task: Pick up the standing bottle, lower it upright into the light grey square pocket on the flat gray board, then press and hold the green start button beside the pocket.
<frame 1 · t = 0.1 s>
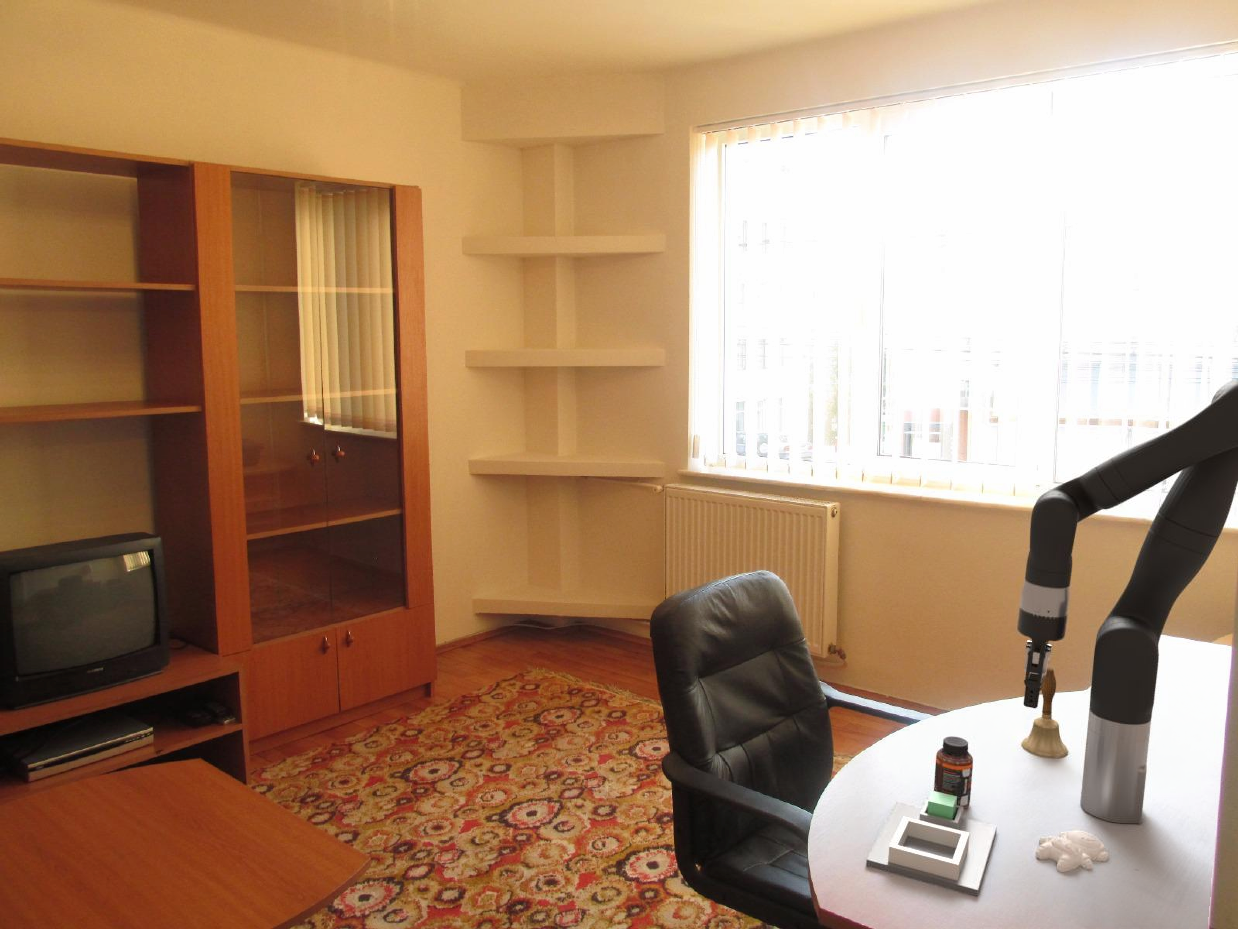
hand: (1032, 698, 169), 17 cm above the table, tool pointing down, fingers open, 8 cm apart
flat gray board: (933, 848, 153), on the table
start button: (942, 808, 158), point 4 cm above the table, slide at 0.0 cm
astronaut figurine: (1069, 856, 152), on the table
hand bell: (1044, 749, 189), on the table
supplement bottle: (951, 804, 167), on the table
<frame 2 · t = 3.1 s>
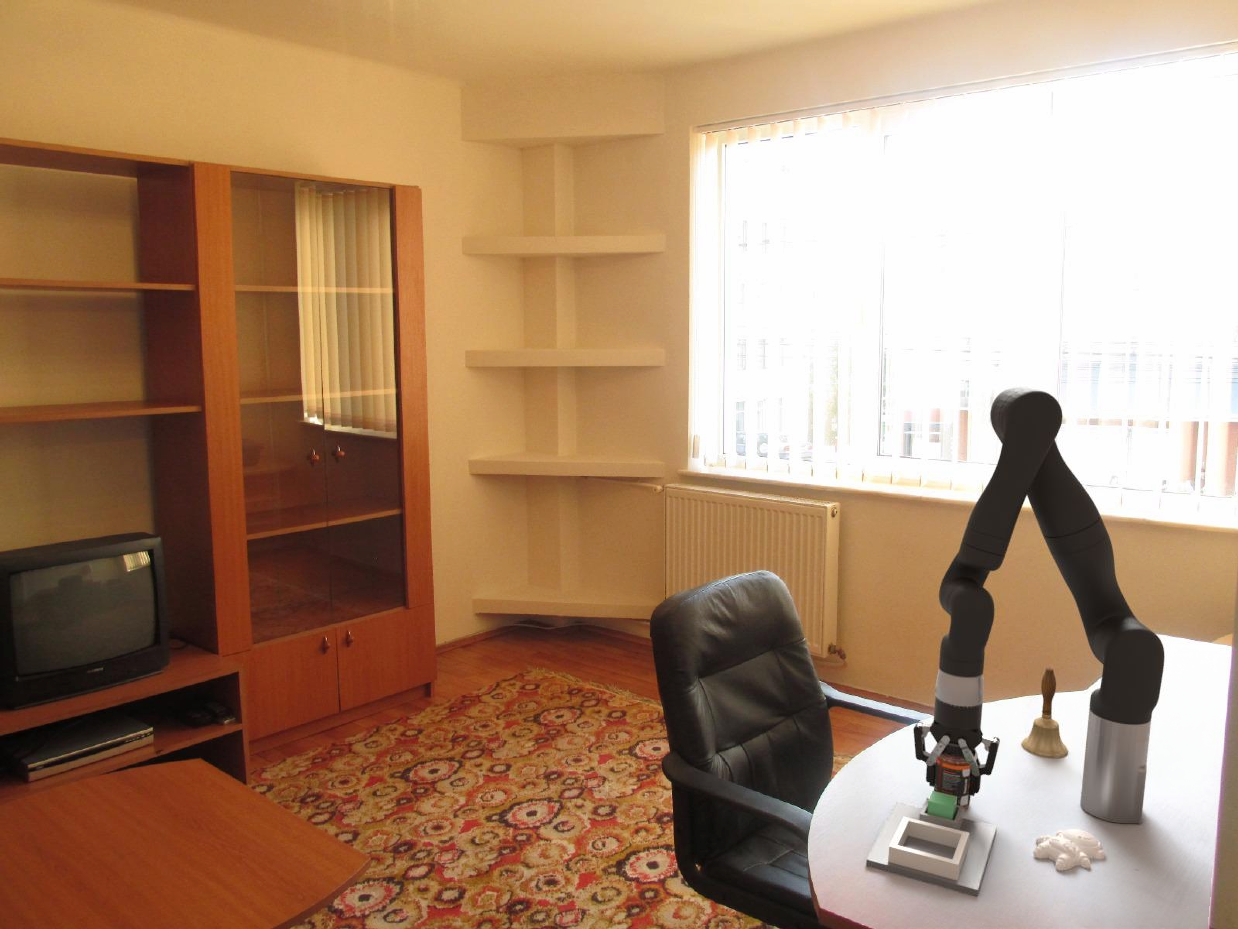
hand: (952, 789, 167), 3 cm above the table, tool pointing down, fingers closed on supplement bottle, 6 cm apart
supplement bottle: (951, 804, 167), on the table, touching gripper
everything else where it was.
when the fingers open (5 cm above the table, at t = 9.1 s): supplement bottle drops 1 cm, resting on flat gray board.
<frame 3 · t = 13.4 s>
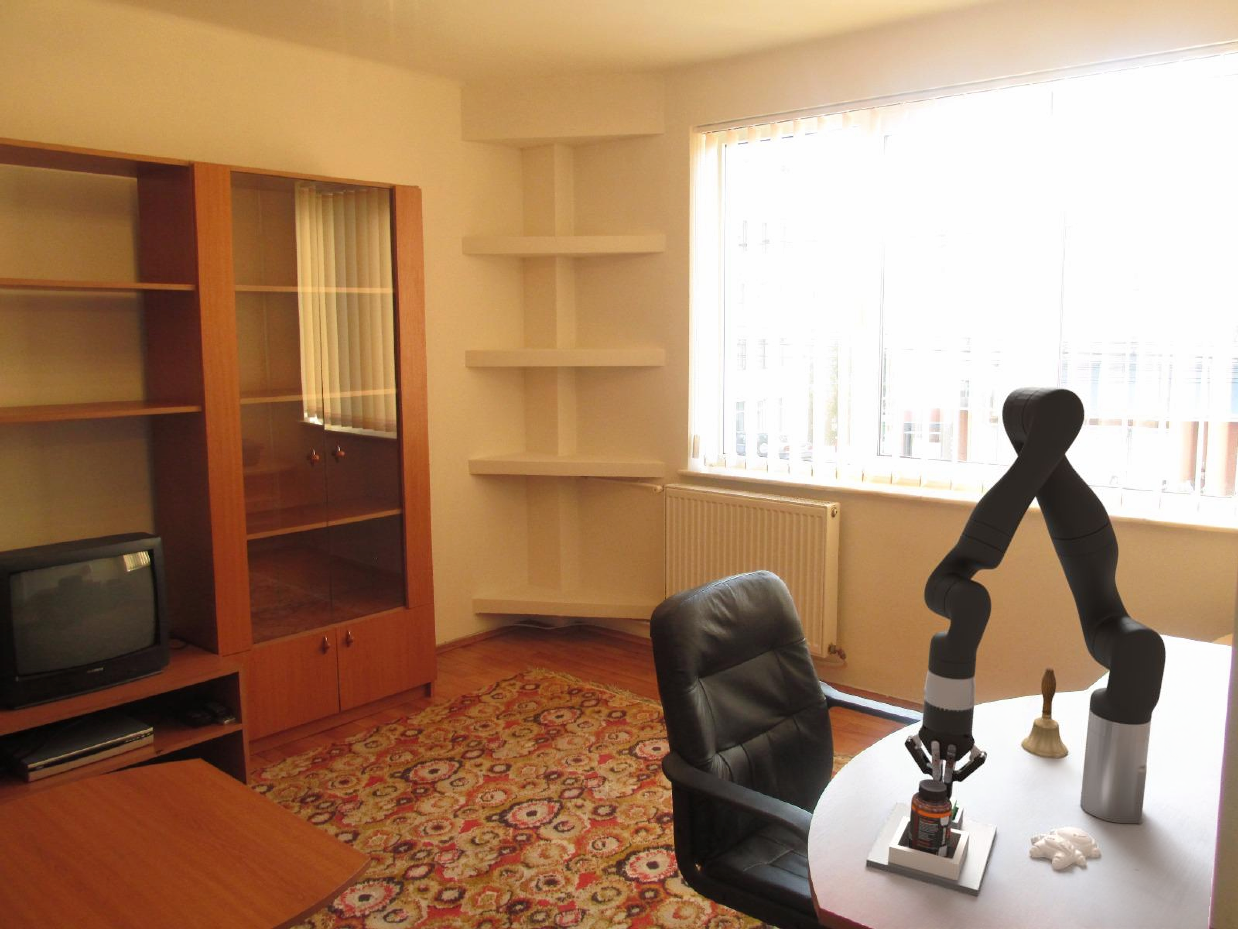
hand: (941, 800, 158), 5 cm above the table, tool pointing down, fingers closed
start button: (941, 810, 158), point 4 cm above the table, slide at 0.4 cm, touching gripper
supplement bottle: (928, 855, 150), point 1 cm above the table, touching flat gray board
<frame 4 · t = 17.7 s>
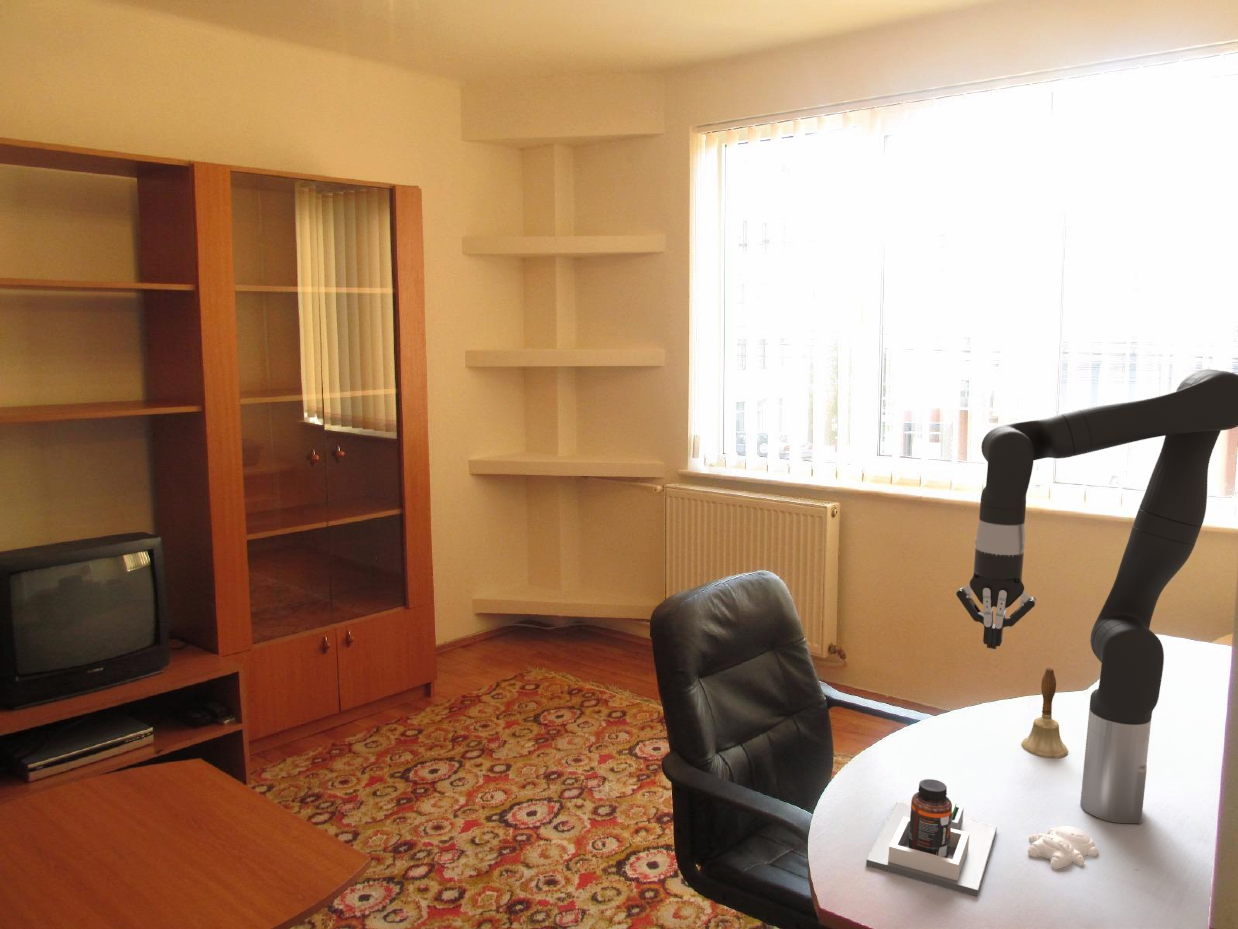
hand: (991, 647, 165), 27 cm above the table, tool pointing down, fingers closed
start button: (941, 813, 158), point 3 cm above the table, slide at 0.9 cm
at the end: supplement bottle 0.1 cm from the target spot on the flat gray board, point 0.8 cm above the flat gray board's base; supplement bottle tilted 0°; start button slide at 0.9 cm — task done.
